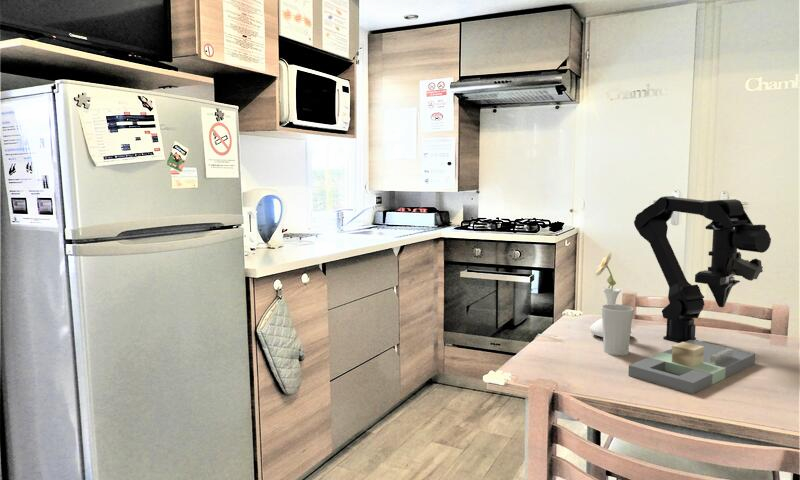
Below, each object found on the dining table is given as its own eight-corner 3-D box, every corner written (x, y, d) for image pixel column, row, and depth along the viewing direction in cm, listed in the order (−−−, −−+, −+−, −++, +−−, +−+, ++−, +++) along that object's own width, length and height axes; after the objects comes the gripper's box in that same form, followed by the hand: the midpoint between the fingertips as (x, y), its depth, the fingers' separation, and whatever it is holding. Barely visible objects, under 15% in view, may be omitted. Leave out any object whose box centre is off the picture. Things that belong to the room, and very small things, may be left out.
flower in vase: (596, 328, 178) (599, 247, 175) (635, 334, 172) (639, 250, 169) (582, 339, 168) (584, 252, 165) (623, 345, 161) (626, 255, 158)
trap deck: (628, 375, 138) (628, 365, 138) (694, 349, 157) (694, 340, 157) (692, 394, 126) (693, 383, 126) (755, 363, 146) (755, 353, 145)
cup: (636, 351, 156) (638, 307, 155) (624, 358, 150) (626, 312, 149) (607, 345, 161) (609, 302, 160) (594, 352, 156) (596, 307, 154)
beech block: (671, 361, 140) (672, 345, 139) (682, 357, 143) (682, 341, 142) (693, 367, 136) (693, 350, 135) (703, 362, 139) (704, 346, 138)
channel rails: (671, 354, 145) (672, 346, 145) (689, 347, 151) (689, 339, 150) (715, 365, 137) (715, 356, 137) (732, 357, 143) (732, 349, 142)
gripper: (742, 254, 140) (738, 318, 142) (773, 247, 151) (769, 307, 153) (695, 250, 149) (692, 310, 151) (728, 243, 160) (724, 300, 162)
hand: (721, 307), depth 154 cm, fingers closed
